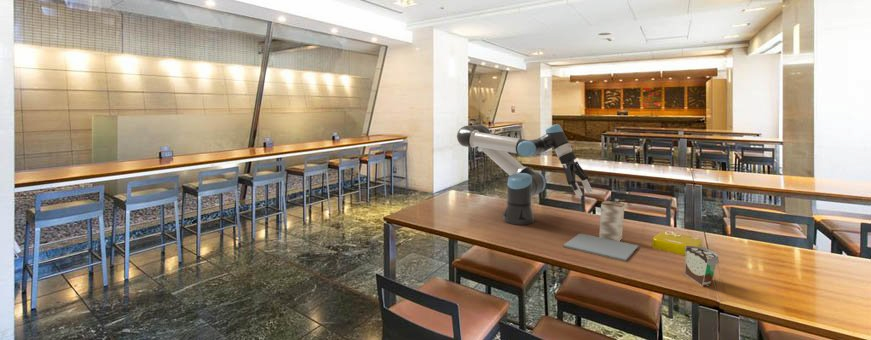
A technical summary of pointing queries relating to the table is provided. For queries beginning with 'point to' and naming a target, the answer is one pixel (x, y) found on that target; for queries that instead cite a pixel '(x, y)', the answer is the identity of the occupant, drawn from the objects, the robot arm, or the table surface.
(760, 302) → the table surface
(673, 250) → the element tile
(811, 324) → the table surface
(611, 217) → the tall block
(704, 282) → the food container
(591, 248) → the mat
